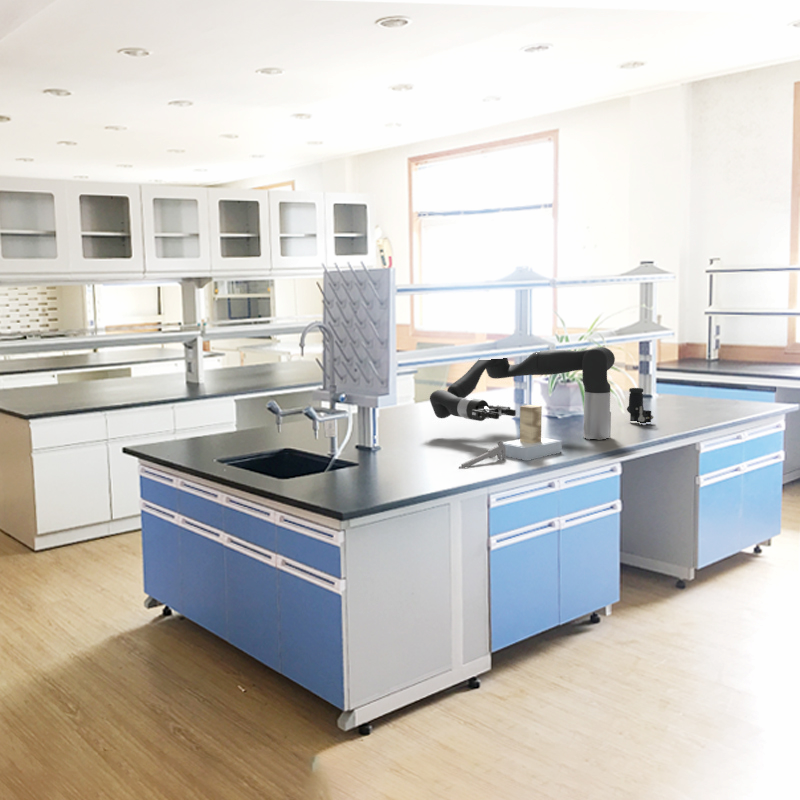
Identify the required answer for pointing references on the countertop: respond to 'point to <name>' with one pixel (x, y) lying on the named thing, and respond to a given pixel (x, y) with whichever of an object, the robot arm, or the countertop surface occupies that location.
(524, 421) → the maple block
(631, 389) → the scope
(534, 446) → the white chamfered block
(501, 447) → the caliper
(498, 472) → the countertop surface
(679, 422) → the countertop surface
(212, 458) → the countertop surface
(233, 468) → the countertop surface
